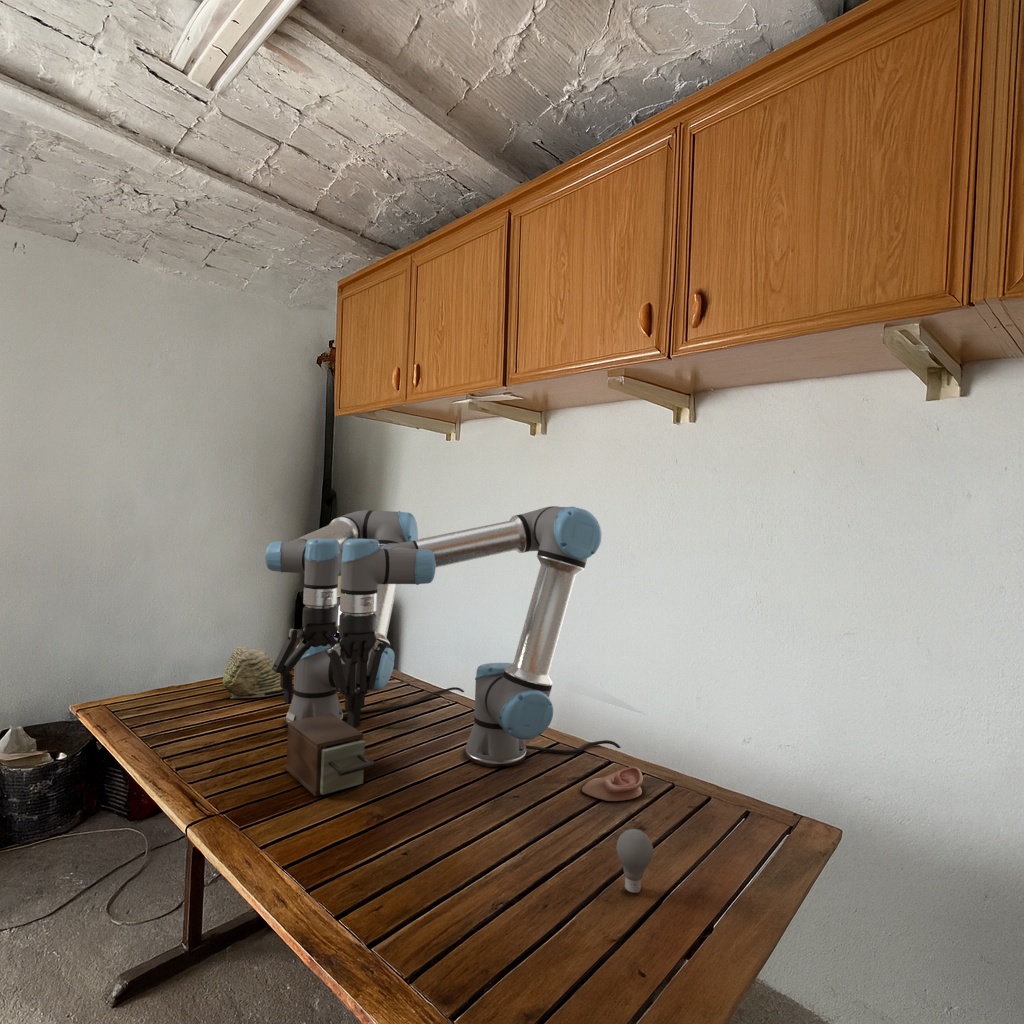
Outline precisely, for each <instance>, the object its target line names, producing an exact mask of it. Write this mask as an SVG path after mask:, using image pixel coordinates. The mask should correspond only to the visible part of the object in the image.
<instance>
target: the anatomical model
mask: <svg viewBox="0 0 1024 1024" xmlns="http://www.w3.org/2000/svg"><path fill="white" fill-rule="evenodd" d="M643 782H644V775H643V773H642V771H641V770H640V769H639V768H638V767H637V766H630V767H625V768H623V769H620V770H617V771H615V772H613V773H610V774H608V775H605V776H604V777H596V778H595V777H594V778H592V779H590V780H588V781H587V782H586V783H585V784H584V785H583V786H582V788H581V792H582V793H583V794H585V795H587V796H590V797H593V798H595V799H598V800H602V801H606V802H619V801H621V802H622V801H628V800H633V799H635V798H638V797H640V796H641V795H642V793H643V789H642V787H641V786H642V784H643Z"/></svg>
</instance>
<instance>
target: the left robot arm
mask: <svg viewBox="0 0 1024 1024" xmlns="http://www.w3.org/2000/svg"><path fill="white" fill-rule="evenodd" d="M417 523H418V522H417V520H416V517H415V516H414V514H412V513H411V512H406V511H401V510H398V511H392V510H391V511H390V510H371V509H364V510H356V511H353V512H350V513H347V514H344V515H341V516H338V517H336V518H334V519H333V520H331V521H330V522H329V524H327V525H326V526H323V527H321V528H319V529H317V530H314V531H312V532H309V533H307V534H305V535H302V536H300V537H298V538H296V539H293V540H290V541H283V540H281V541H272V542H270V543H269V544H268V546H267V547H266V548H265V549H266V550H265V553H264V562H265V565H266V567H267V569H268V570H270V571H272V572H278V573H282V574H283V573H291V574H304V583H303V597H302V598H303V599H302V603H303V605H304V607H303V608H302V627H301V628H299V629H294V628H293V627H290V628H288V630H287V637H286V639H285V642H284V644H283V645H282V647H281V649H280V651H279V653H278V655H277V657H276V658H275V660H274V665H273V667H272V670H273V671H275V672H277V673H280V674H281V677H280V686H281V688H283V689H284V692H283V702H284V703H286V704H287V705H289V708H288V711H287V713H286V715H285V726H286V728H288V722H291V721H296V720H301V719H306V718H311V717H316V716H321V715H326V714H331V713H332V714H333V715H335V716H336V717H338V718H339V719H341V720H343V721H344V713H347V714H348V711H347V710H346V709H345V708H344V709H343V708H342V706H341V702H340V699H339V695H338V691H337V690H336V686H335V681H334V675H333V670H332V665H331V660H330V658H329V656H328V655H327V653H326V649H327V648H332V647H333V646H335V645H336V644H337V639H338V638H339V637H335V636H336V635H337V633H338V634H339V624H338V625H337V618H338V617H337V616H338V608H337V606H336V605H337V604H338V589H339V587H338V586H339V577H341V560H342V553H343V544H344V542H345V541H346V540H348V539H375V540H378V541H379V546H380V548H381V547H383V546H384V545H386V544H389V543H403V542H408V541H414V540H417V539H419V530H418V524H417ZM397 587H398V584H378V588H377V610H376V611H375V612H374V613H375V614H376V630H375V635H376V637H377V640H378V641H379V642H382V643H384V644H386V648H385V650H384V652H383V654H382V656H381V660H380V664H379V668H378V672H377V676H376V680H375V684H374V688H373V689H372V690H368V691H367V692H379V691H381V690H383V689H384V688H385V686H386V685H387V684H388V683H389V681H390V680H391V679H390V678H391V677H392V674H393V671H394V666H395V657H396V656H395V652H394V650H393V649H392V648H391V642H390V641H389V639H388V638H387V636H388V631H389V627H390V621H391V616H392V612H393V607H394V602H395V598H396V593H397ZM300 636H301V637H302V639H301V641H299V643H298V644H297V645H296V643H297V640H298V639H299V638H300ZM295 645H296V647H295ZM294 647H295V650H294ZM372 650H373V649H371V650H370V652H369V658H368V661H367V667H368V663H369V659H370V655H371V652H372ZM292 651H293V652H292ZM340 654H341V655H340V656H339V657H340V659H341V663H342V668H343V673H344V678H345V659H344V656H345V655H344V653H343V652H342V651H341V649H340ZM293 669H294V672H293V674H292V673H291V671H292V670H293ZM355 691H356V676H355ZM449 691H459V692H461V693H465V690H464V689H462V688H460V687H457V686H456V687H455V686H453V687H448V688H445V689H440V690H436V691H433V692H431V693H429V694H426V695H424V696H421V697H419V698H416V699H415V700H412V701H409V702H406V703H402V704H397V705H390V706H383V707H382V706H381V707H377V708H376V707H375V708H369V709H361V714H365V713H372V712H373V713H374V712H379V711H386V710H393V709H400V708H403V707H408V706H411V705H414V704H417V703H418V702H422V701H423V700H425V699H428V698H430V697H432V696H434V695H438V694H442V693H446V692H449Z"/></svg>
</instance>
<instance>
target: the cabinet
mask: <svg viewBox="0 0 1024 1024" xmlns="http://www.w3.org/2000/svg"><path fill="white" fill-rule="evenodd" d="M352 740H356V741H360V740H363V741H364V733H362V732H361V731H360V730H359V729H356V727H352V726H350V725H349V724H348V722H346V721H344V719H343V720H341V719H339V718H338V717H336V716H335V715H333V714H332V713H331V714H326V715H321V716H316V717H311V718H306V719H301V720H296V721H291V722H288V727H287V740H286V741H287V743H286V768H285V770H286V771H287V773H289V774H290V775H291V776H292V777H293V778H294V779H295V780H296V781H298V783H300V785H302V786H303V787H304V788H305V789H307V790H308V792H310V793H311V795H313V796H314V797H320V796H323V795H322V794H321V793H320V776H321V751H322V747H326V746H331V745H335V744H339V743H343V742H348V741H352Z"/></svg>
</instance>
